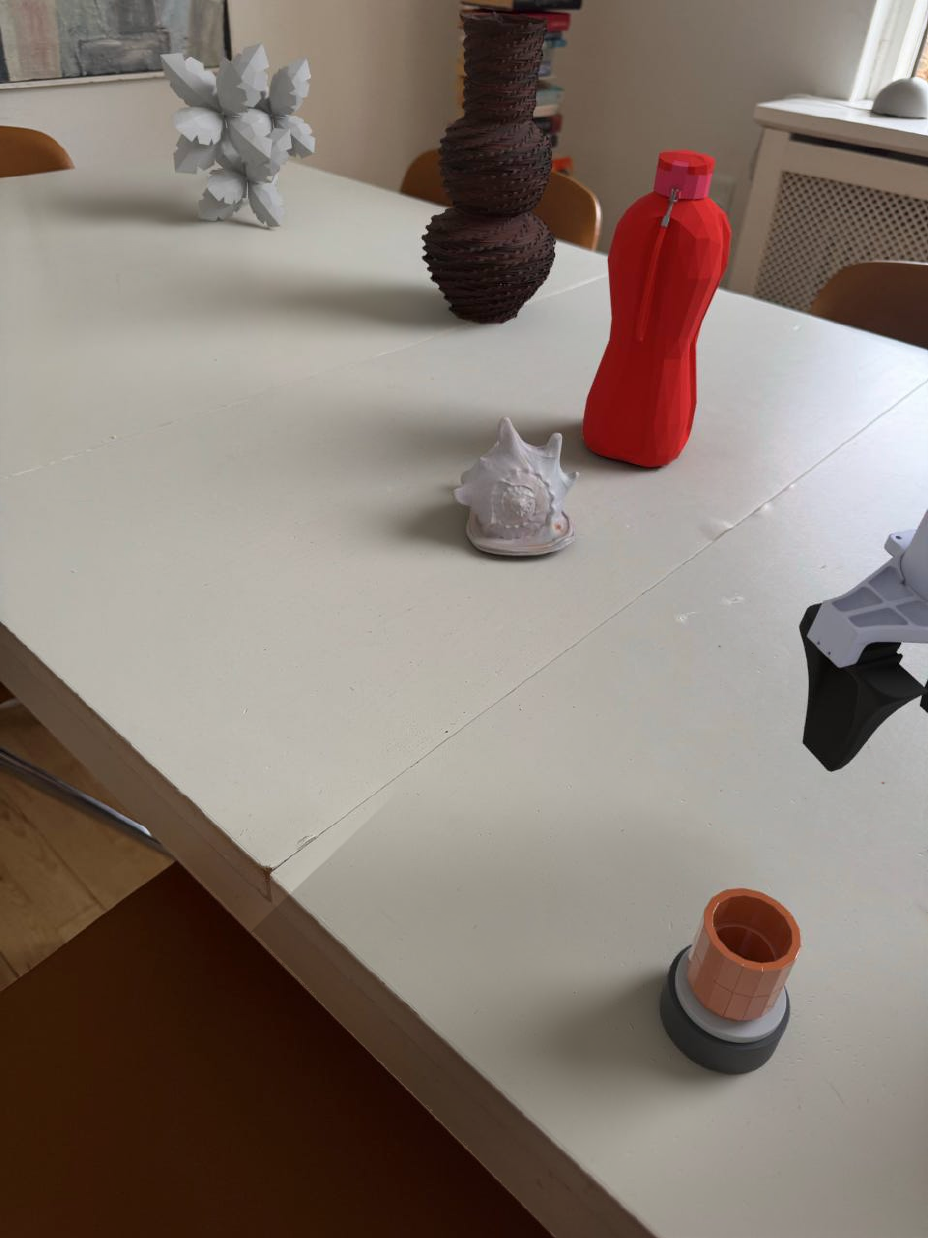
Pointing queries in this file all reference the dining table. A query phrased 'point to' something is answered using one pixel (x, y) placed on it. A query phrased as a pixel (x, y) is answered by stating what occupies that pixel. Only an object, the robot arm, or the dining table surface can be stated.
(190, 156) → the flower bouquet
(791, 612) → the dining table surface
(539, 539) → the seashell
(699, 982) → the cup
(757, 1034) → the push button
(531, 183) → the vase
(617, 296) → the water bottle
